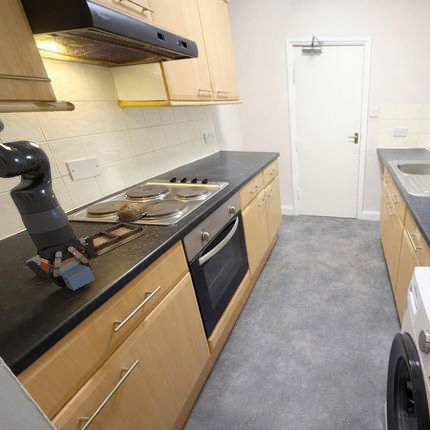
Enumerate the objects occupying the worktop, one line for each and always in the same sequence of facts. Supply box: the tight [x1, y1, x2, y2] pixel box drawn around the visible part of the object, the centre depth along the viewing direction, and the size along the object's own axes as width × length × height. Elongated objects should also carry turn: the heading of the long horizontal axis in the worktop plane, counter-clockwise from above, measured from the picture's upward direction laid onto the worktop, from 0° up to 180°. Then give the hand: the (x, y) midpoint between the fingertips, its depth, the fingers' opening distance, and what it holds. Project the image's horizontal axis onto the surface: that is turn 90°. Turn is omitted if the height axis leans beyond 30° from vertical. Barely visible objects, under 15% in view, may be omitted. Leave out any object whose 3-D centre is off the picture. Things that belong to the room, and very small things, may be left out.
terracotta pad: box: [40, 257, 76, 272], centre depth 80 cm, size 5×8×4 cm, turn 66°
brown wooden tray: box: [78, 221, 146, 256], centre depth 95 cm, size 16×13×3 cm
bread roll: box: [116, 202, 148, 222], centre depth 113 cm, size 10×10×8 cm
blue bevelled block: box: [60, 260, 96, 291], centre depth 72 cm, size 5×8×4 cm, turn 66°
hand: (75, 279), depth 72 cm, fingers closed on blue bevelled block, 5 cm apart
